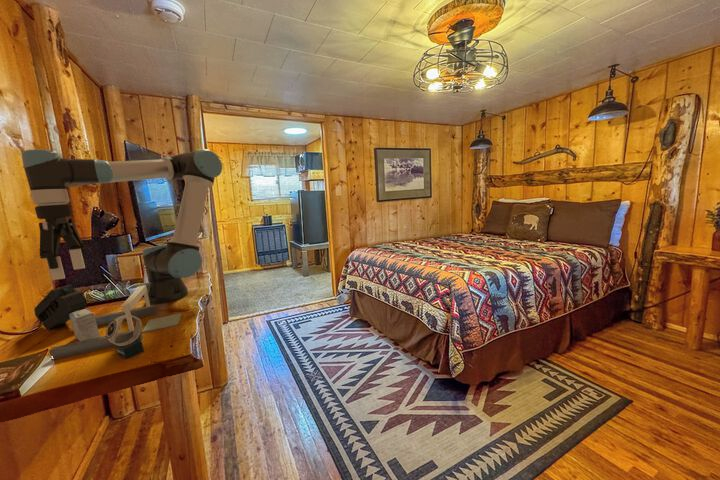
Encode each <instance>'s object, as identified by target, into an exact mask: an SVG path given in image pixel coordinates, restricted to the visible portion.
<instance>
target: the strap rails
mask: <svg viewBox="0 0 720 480" xmlns="http://www.w3.org/2000/svg"><path fill="white" fill-rule="evenodd" d="M130 313H131V315H132V316H135V317H137V318H139V319H140V318H144V317H149V316H153V315H158V308H157V305H156V304H153V305H150V306H149V307H146V306H144V307H137V308H132V310H130ZM123 315H125V312H123V311H122V310H121V311H117V312H113V313H112V312H111V313H107V314H102V315H97V316H95V315H94V317H95V320H96V324H97V327H100V326H104V325H109V323H110V322H111V321H112V320H115V319H116V318H117V317H120V316H123ZM133 319H134V320H136V319H135V318H133V317H132V320H133ZM124 321H127V319H126V318H124V319H123V322H124ZM142 331H143V330H141V333H140V335H139V337H138V338H137V340H140V341H142V340H143V338H144V335H143V333H142ZM133 333H134V331H130V332H129V330H126V331H122V332H120V333H119V335H118V336H117V337H116V340H115V341H114V342H115V343H120V342H123V341H125V340H128V339H130V338H132V337H133ZM113 347H115V344H113V343H111V342H110V341H109V340H108V339H107V338H106V335H103V336H100V337H98V338H94V339H89V340H84V341H76V342H71V343H67V344H61V345H57V346H53V347H52V348H50V349H49V350H48V352H49V353H48V354H49V356H50V355H51V356H53V358H54V359H56V360H60V359H64V358H68V357H73V356H77V355H82V354H86V353H91V352H94V351H99V350H103V349H108V348H113ZM51 356H50V357H51Z"/></svg>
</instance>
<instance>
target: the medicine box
mask: <svg viewBox="0 0 720 480" xmlns="http://www.w3.org/2000/svg"><path fill="white" fill-rule="evenodd" d="M69 317H70V320H69V321H70V323H71V327H72V332H73V334H74V338H75V339H76V340H78V342H80V341H84V340H89V339H94V338H98V337H101V336H100V332H99V328H98V326H97V324H96V320H95V314H94V312H92V311H91V310H88V309H87V308H86V309H83V310H80V311H76V312H73V313H70V314H69Z"/></svg>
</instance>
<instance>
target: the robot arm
mask: <svg viewBox="0 0 720 480" xmlns="http://www.w3.org/2000/svg"><path fill="white" fill-rule="evenodd" d="M219 157H220V156H218V155H217V154H216V153H215V152H214V151H212V150H210V149H200V148H199V149H196V150H194V151H189V152H183V153H180V154H175V155H172V156H162V157H161V158H160V159H143V160H142V159H140V160H137V159H136V160H123V161H122V160H118V161H107V160H103V159H96V158H93V159H91V158H90V159H88V158H83V159H82V158H65V157H63V158H62V157H60V155H59V153H58V152H57V151H55V150H52V149H51V150H48V149H26V150H23V151H22V153H21V159H22V164H23V167H22V168H23V170H24V173H25V175H26V179H27V182H28V186H29V190H30V194H29V197H30V198H32V201H33V204H34V205H37V206H35V207H34V211H35V214H36V218H37V219H39V220H45V222H44V221H43V222H38V226H39V257H40V259H45V260H46V263H47V267H48V270H49V274H50V278H51V281H59V280H64V279H66V274H65V271H64V267H63V264H62V258H61V256H59V249H60V244H61V238H62V239H63V241H64V242H65V244H66V245H67V246H68V247H69V250H68V252H69V255H70V261H71V263H72V264H71V265H72V268H73V270H74V271H75V270H81V269H86V265H85V261H84V257H83V253H82V249H84V248H85V244H84V243H83V240H82V239H81V236H80V234H79V233H78V230H77V228H76V226H75V224H74V220H73V219H72V218H69V217H72V216H74V215H73V210H72V206H71V205H70V204H68V203H70V201H71V200H70V196H69V193H68V189H67V187H69V188H71V187H77V186H78V187H79V186H89V185H95V184H96V185H97V184H108V183H109V184H110V183H118V182H119V183H120V182H121V183H122V182H131V181H132V182H133V181H142V180H145V181H146V180H154V179H166V180H168V181H170V180H184V182H185V184H184V189H183V192H182V196H181V201H180V205H179V210H178V214H177V218H176V222H175V223H176V224H175V228H174V232H173V236H172V238H171V239H169V240H167V242H166V244H161V245H160V244H159V245H155V246H150V247H146V248H143V249H142V259H143V263H144V267H145V273H146V276H147V277H146V278H147V283H148V284H149V288H150V289H149V290H148V291H147V292H148V297H149V302H150V304H153V305H156V304H162V303H164V304H165V303H168V302H172V301H175V300H179V299H181V298H183V297H185V296H187V295H188V294H189V290H188V286H187V285H186V284H185V282H184V280H183V279H184V278H186V279H187V278H190V277H192V276H194V275H195V274H197V273H198V272H199V271H200V270H201V268H202V265H203V257H202V256H201V253H200V245H199V244H198V243H197V242H198V236H199V232H200V229H201V224H202V219H203V215H204V214H203V213H204V209H205V205H206V201H207V196H208V192H209V188H210V187H213V186H214V183H215V178H217V177H219V176H220V175H221V174H222V171H223V163H222V160H221V159H220V158H219Z"/></svg>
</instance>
